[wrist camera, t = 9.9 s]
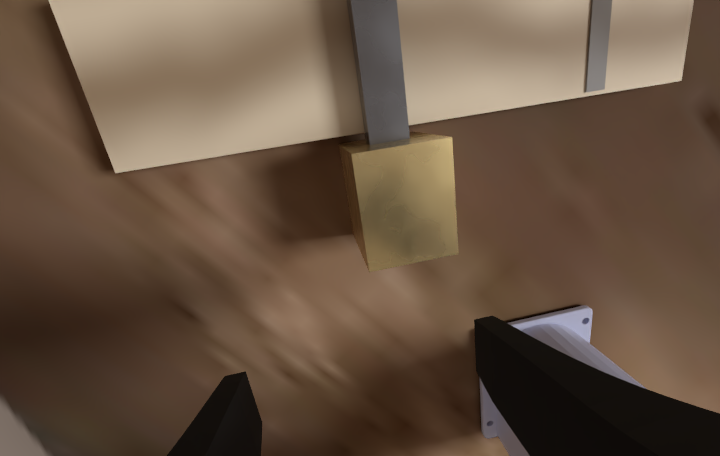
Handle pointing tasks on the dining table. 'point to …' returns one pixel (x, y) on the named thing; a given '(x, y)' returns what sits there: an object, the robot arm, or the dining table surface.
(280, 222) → the dining table surface
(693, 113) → the dining table surface
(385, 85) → the marking gauge
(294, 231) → the dining table surface
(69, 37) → the maple board
